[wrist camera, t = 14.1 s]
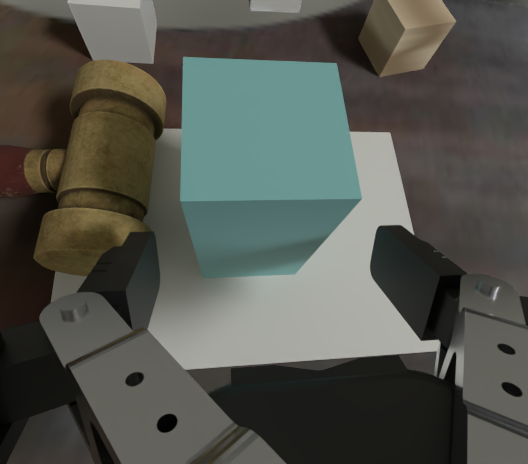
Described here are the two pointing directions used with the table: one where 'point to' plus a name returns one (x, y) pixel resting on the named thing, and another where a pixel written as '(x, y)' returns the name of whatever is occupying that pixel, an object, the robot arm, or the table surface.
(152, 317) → the white mat
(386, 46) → the birch cube right
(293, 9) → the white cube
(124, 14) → the grey cube left
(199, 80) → the teal block
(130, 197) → the gavel
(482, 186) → the table surface
